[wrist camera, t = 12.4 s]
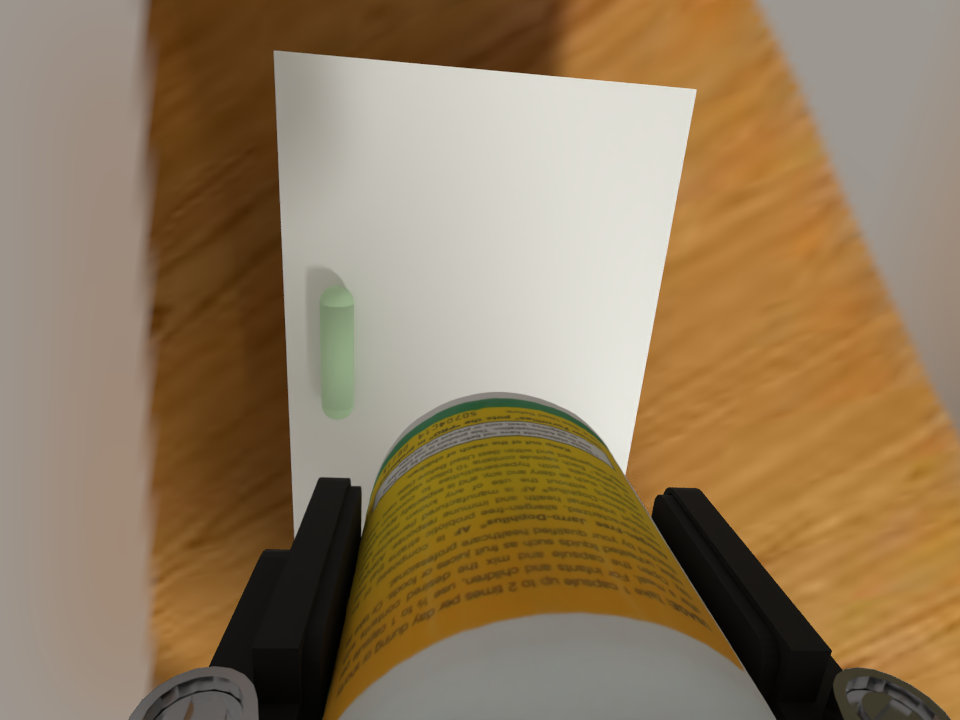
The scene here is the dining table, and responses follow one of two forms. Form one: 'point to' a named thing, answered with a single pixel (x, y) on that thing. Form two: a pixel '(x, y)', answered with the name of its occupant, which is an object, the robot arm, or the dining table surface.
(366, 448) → the level board
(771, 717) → the supplement bottle
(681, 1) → the dining table surface
